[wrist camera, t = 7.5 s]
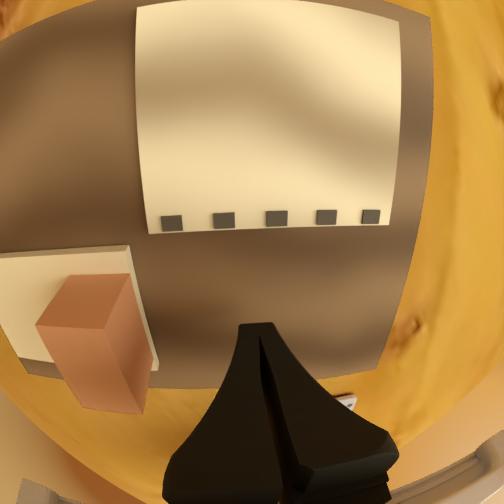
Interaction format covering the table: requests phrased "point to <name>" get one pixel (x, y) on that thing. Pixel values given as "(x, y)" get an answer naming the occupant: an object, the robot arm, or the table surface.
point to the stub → (81, 321)
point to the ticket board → (227, 167)
